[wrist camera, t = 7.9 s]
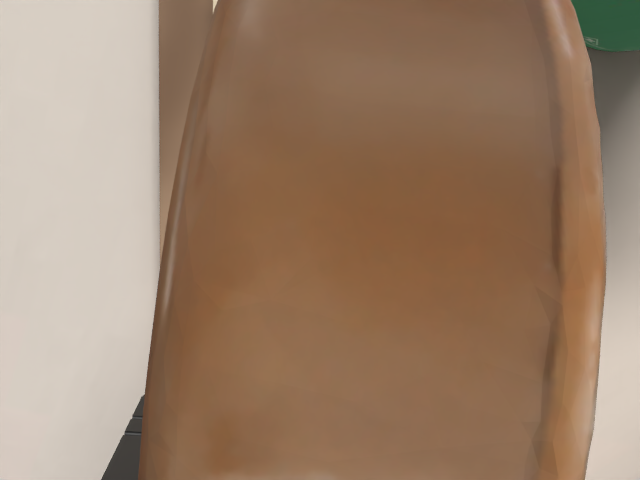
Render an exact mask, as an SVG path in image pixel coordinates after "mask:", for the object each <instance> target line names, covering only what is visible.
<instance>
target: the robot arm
mask: <svg viewBox="0 0 640 480" xmlns="http://www.w3.org/2000/svg"><path fill="white" fill-rule="evenodd" d="M144 398H145V395H144V396H142V398H141V400H140V402H139V404H138V406H137V408H136V410H135V412H134V414H133V418H132V419H131V420H130V422H129V424H128V426H127V428H126V430H125V435H123V436H122V438H121V440H120V442H119V444H118V446H117V448H116V451H115V453H114V455H113V457H112V459H111V461H110V463H109V465H108V467H107V469H106V471H105V473H104V475H103V477H102V479H101V480H138V474H139V461H140V447H141V433H142V419H143V407H144Z"/></svg>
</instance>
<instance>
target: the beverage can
mask: <svg viewBox="0 0 640 480" xmlns="http://www.w3.org/2000/svg"><path fill="white" fill-rule="evenodd" d="M571 2H572V4H573V6H574V9H575V11H576V15H577V18H578V21H579V25H580V28H581V32H582V35H583V38H584V42H585V45H586V46H587V47H590V48H593V49H596V50H603V51H610V52H617V51H635V50H640V0H571Z"/></svg>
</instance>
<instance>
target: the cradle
mask: <svg viewBox="0 0 640 480" xmlns="http://www.w3.org/2000/svg"><path fill="white" fill-rule="evenodd" d="M217 1H218V0H159V121H160V265H161V257H162V251H163V244H164V238H165V231H166V225H167V218H168V212H169V206H170V200H171V195H172V189H173V184H174V178H175V173H176V167H177V162H178V156H179V151H180V145H181V141H182V136H183V131H184V126H185V122H186V117H187V112H188V107H189V103H190V98H191V94H192V90H193V87H194V83H195V79H196V75H197V72H198V68H199V64H200V61H201V57H202V53H203V49H204V46H205V42H206V38H207V35H208V31H209V27H210V23H211V19H212V16H213V12H214V9H215V6H216V4H217Z"/></svg>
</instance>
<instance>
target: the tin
mask: <svg viewBox="0 0 640 480" xmlns="http://www.w3.org/2000/svg"><path fill="white" fill-rule="evenodd" d="M606 258H607V256H606V216H605V208H604V200H603V170H602V159H601V148H600V126H599V122H598V118H597V114H596V107H595V99H594V89H593V78H592V67H591V62H590V59H589V55H588V52H587V48H586V45H585V42H584V38H583V35H582V32H581V28H580V25H579V21H578V18H577V15H576V11H575V9H574V6H573V4H572V2H571V0H218V1H217V4H216V6H215V9H214V12H213V16H212V19H211V23H210V27H209V31H208V35H207V38H206V42H205V46H204V49H203V53H202V57H201V61H200V64H199V68H198V72H197V75H196V79H195V83H194V87H193V90H192V94H191V98H190V103H189V107H188V112H187V117H186V122H185V126H184V131H183V136H182V141H181V145H180V151H179V156H178V162H177V167H176V173H175V178H174V184H173V189H172V195H171V200H170V206H169V212H168V218H167V225H166V231H165V238H164V244H163V251H162V257H161V265H160V273H159V281H158V290H157V298H156V306H155V314H154V322H153V330H152V338H151V346H150V354H149V362H148V371H147V380H146V389H145V398H144V407H143V419H142V433H141V447H140V461H139V474H138V480H585V475H586V468H587V462H588V456H589V450H590V445H591V440H592V435H593V430H594V421H595V409H596V398H597V386H598V374H599V359H600V343H601V327H602V317H603V306H604V296H605V285H606Z"/></svg>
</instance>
